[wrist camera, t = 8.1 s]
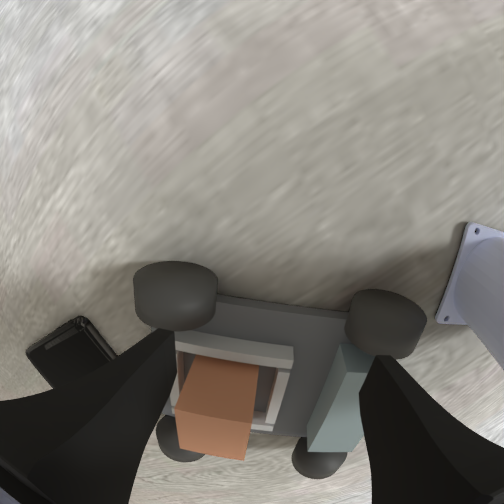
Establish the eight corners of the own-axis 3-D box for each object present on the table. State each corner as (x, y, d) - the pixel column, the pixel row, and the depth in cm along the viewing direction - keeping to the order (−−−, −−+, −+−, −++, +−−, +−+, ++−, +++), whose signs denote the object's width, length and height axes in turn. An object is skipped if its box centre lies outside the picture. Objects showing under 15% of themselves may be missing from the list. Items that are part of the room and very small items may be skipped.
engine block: (260, 358, 20) (252, 423, 14) (252, 401, 21) (243, 460, 16) (198, 347, 20) (174, 408, 14) (198, 391, 22) (179, 448, 16)
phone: (133, 383, 23) (62, 399, 26) (138, 375, 24) (66, 394, 28) (78, 315, 21) (22, 351, 24) (85, 309, 22) (27, 346, 26)
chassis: (409, 293, 18) (439, 332, 13) (338, 440, 24) (342, 478, 20) (153, 256, 19) (117, 289, 14) (166, 417, 25) (151, 454, 20)
